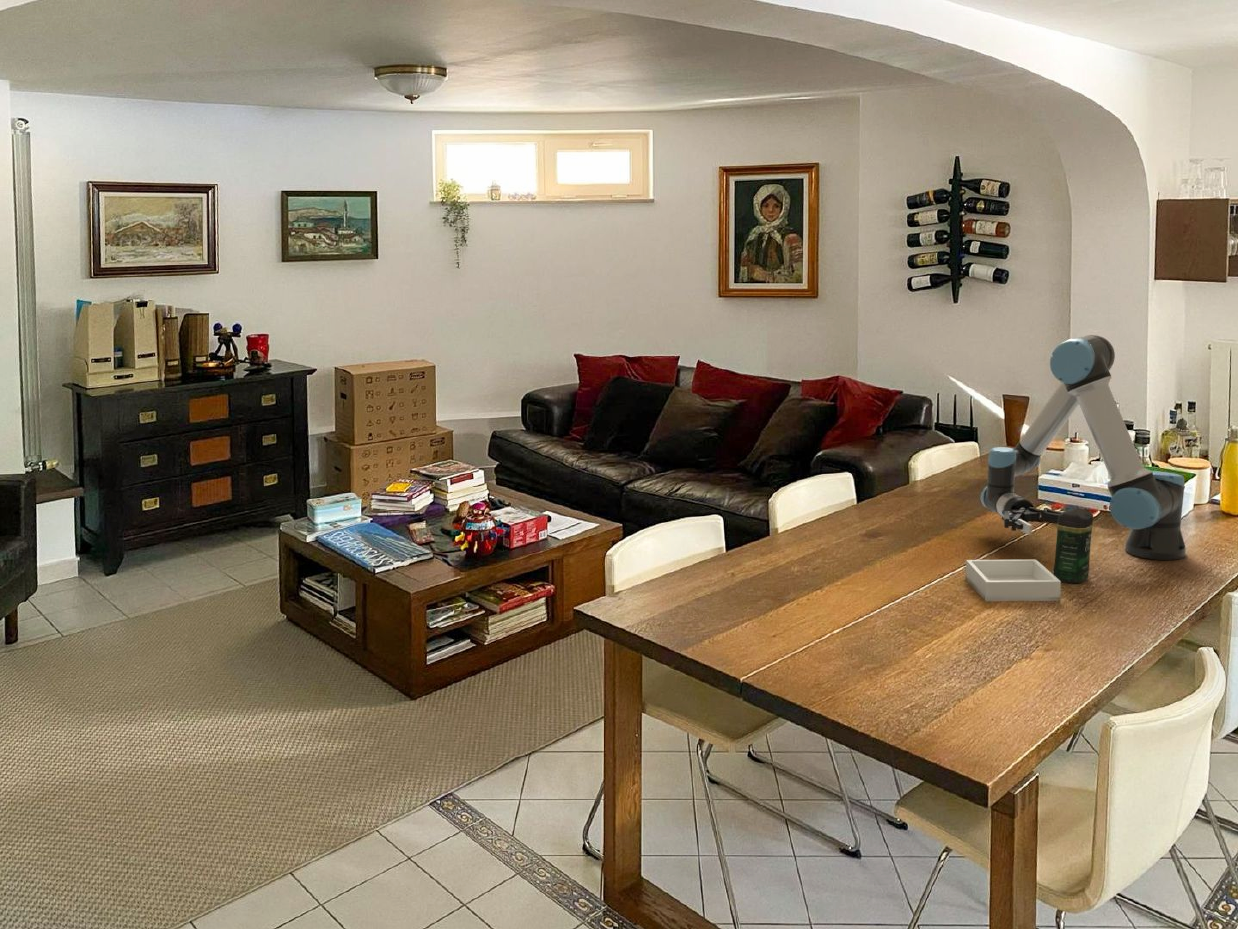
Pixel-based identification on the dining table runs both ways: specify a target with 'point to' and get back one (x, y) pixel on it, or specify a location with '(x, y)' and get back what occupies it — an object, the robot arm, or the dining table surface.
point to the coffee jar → (1073, 545)
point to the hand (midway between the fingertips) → (1054, 528)
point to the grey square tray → (1012, 580)
